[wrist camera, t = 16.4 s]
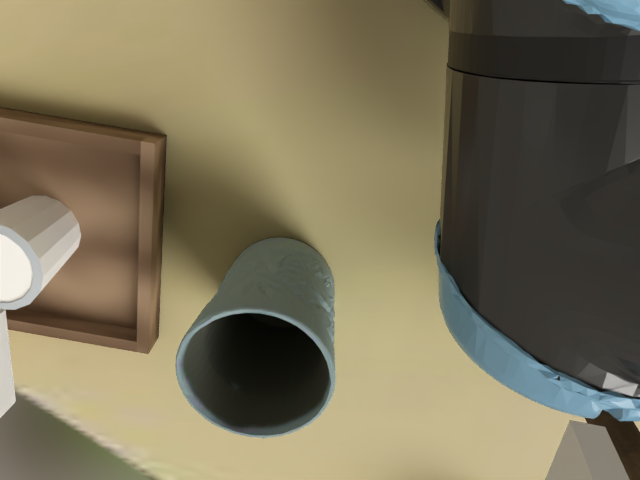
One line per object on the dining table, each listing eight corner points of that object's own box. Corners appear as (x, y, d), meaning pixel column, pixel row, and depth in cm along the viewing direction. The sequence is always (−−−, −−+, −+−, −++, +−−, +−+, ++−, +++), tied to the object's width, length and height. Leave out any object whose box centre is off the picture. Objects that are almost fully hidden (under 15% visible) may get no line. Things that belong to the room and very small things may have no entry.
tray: (-71, 95, 42) (-96, 101, 40) (166, 135, 42) (154, 143, 40) (-44, 301, 50) (-64, 316, 47) (158, 337, 49) (148, 353, 47)
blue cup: (354, 243, 44) (349, 326, 33) (330, 349, 49) (319, 453, 38) (227, 218, 44) (180, 292, 34) (214, 326, 49) (168, 423, 38)
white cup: (69, 281, 47) (22, 327, 41) (-8, 238, 46) (-69, 278, 40) (102, 218, 44) (57, 256, 38) (21, 170, 43) (-39, 201, 37)
